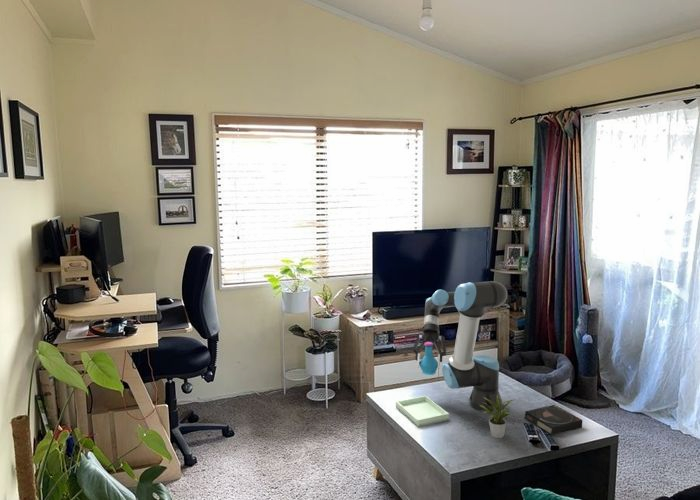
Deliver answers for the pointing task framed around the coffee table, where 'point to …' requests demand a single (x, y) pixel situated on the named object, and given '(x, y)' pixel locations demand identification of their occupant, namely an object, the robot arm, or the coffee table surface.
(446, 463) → the coffee table surface
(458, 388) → the robot arm
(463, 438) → the coffee table surface
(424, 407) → the parts tray
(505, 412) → the house plant
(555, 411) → the dark brown book
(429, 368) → the perfume bottle
